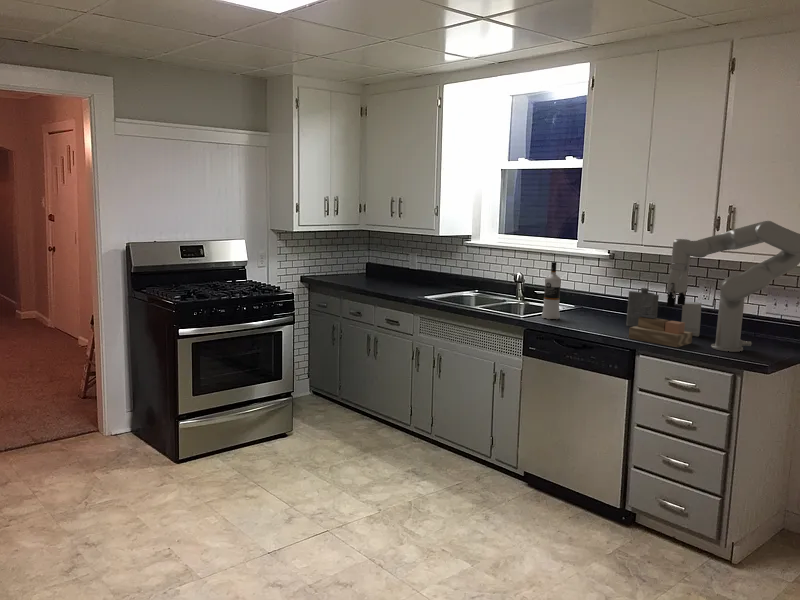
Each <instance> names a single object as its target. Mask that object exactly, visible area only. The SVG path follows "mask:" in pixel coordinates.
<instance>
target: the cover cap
mask: <svg viewBox="0 0 800 600" xmlns="http://www.w3.org/2000/svg"><path fill="white" fill-rule="evenodd" d="M684 329H685V323H684V322H682V321H677V320H669V321H668V322H666V324H665V332H668V333H674V334H680V333H684Z"/></svg>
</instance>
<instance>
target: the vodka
mask: <svg viewBox="0 0 800 600" xmlns="http://www.w3.org/2000/svg"><path fill="white" fill-rule="evenodd" d="M557 263H558V262H557V261H551V266H550V274H549V275H548V276H546V277H545V278H544V293H543V294H544V295H543V307H542V312H541V317H542V318H543V319H544V318H547V319H546V320H550V319H556V320H559V319H560V318H561V317H560V316H561V315H560V301H561V300H560V298H561V286H562V285H561V283H562V279H561V277H560V276H558V275H557Z"/></svg>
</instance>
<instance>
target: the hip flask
mask: <svg viewBox="0 0 800 600" xmlns="http://www.w3.org/2000/svg"><path fill="white" fill-rule="evenodd" d="M649 289H650V288H647V287H641V288H640V290H641V291H633V290H632V291H631V290H630V291H628V297H627V310H626V325H625V326H626V327H634V326H638V321H639V317H641V316H634V315H633V314H634V313H635V312H639V313H643V311H640V307H641V306H651V310H650V311H648V314H652V315H657V316H658V309H659V297H660V296H659V294H655V293H653V292H649Z"/></svg>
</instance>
